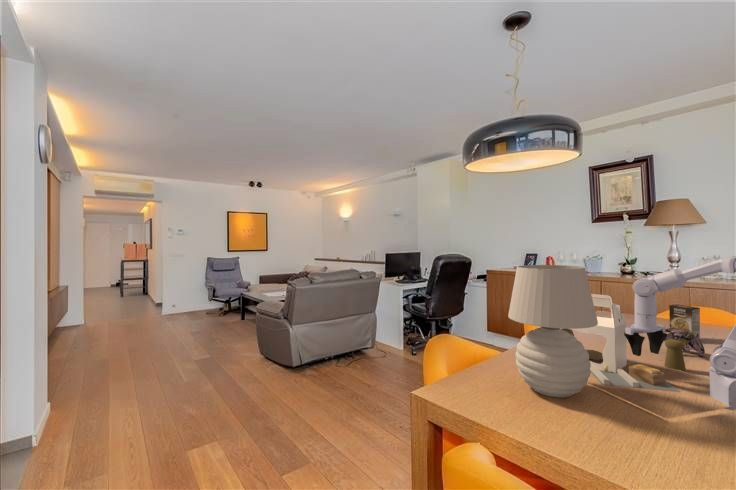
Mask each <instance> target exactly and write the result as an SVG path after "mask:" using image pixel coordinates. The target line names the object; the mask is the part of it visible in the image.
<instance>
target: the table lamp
mask: <svg viewBox="0 0 736 490" xmlns="http://www.w3.org/2000/svg"><path fill="white" fill-rule="evenodd" d="M591 294H592V292H591V286H590V283H589V280H588V274H587V272H586V267H584V266H580V265H563V264H561V265H560V264H527V265H517V266H516V271H515V277H514V282H513V287H512V292H511V298H510V303H509V309H508V315H507V316H508V319H510V320H511V321H514V322H516V323H519V324H524V325H529V326H535V328H534V329H531V330H529V331H528V332H526V334H524V335H523V336H521V338H520V341H519V342H518V343H517V344H516V351H515V365H516V367H517V369H518V374H519V375H520V376H521V378H523V381H524V382H525V384H527V385H528V386H529V387H531V388H532V389H533V391H535V392H537V393H539V394H541V395H544V396H547V397H550V398H560V399H562V398H569V397H571V396H573V395H575V394H578V393H579V392H581V391H582V389H583V388H584V387H585V386H587V384H588V381H589V378H590V376H591V372H590V371H591V370H590V367H591V363H590V361H591V360H590V359H589V353H588V352H587V350H588V349H586V348H585V346H584V344H583V343H582V342H581V341H580V340H578V338H577V337H576V336H575V335H574V336H573V335H572V334H569V333H568V332H566V331H564V330H561V329H560V328H563V329H579V328H590V327H594V326H596V325H597V324H598V321H597V316H598V315H597V312H596V309H595V306H594V304H593V300H592V295H591ZM589 360H590V361H589Z"/></svg>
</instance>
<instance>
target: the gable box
mask: <svg viewBox="0 0 736 490" xmlns="http://www.w3.org/2000/svg"><path fill="white" fill-rule="evenodd" d="M591 295H592V300H593V304H594V307H600V308H601V307H602V308H609V310H610V316H611V317H607V316H600V315H599V316H598V315H596V316H597V321H598V324H597V325H596V326H594V327H590V328H579V329H563V328H560V329H561V330H564V331H566V332H568V333H569V334H572V335H573V336H575V334H574V331H576V332H579V333H581V334H587V335H598V336H601V337H603V338H604V339H605V340H606V343H605V346H603V350H602V352H601V351H598V350H594V349H586V350H587V352H588V353H589V361H590V363H591V366H595V367H596V368H597V369H598V370H604V365H606V366H608V371H610V372H614V373H617V368H621V369H623V368H625V367H626V366H627V365H628V363H627V362H628V355H627V353H628V352H627V348H628V346H627V338H626V337H625V335H624V332H625V328H627V322H626V319H625V318H624V316H623V315H622V311H621V310H622V309H621V304H616V303H614V301H613V297H612V296H611V295H609V294H599V293H591ZM592 360H594V361H598V360H602V362H601V363H598V362H594V361H592Z"/></svg>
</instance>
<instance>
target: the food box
mask: <svg viewBox="0 0 736 490" xmlns="http://www.w3.org/2000/svg"><path fill="white" fill-rule="evenodd" d="M668 309H669V310H668V311H669V328H676V329H681V330H684V331H690V332H692V333H693V335H694V336H695V337H697V338H698V339H699V340H700V341H701V324H700V323H701V319H700V318H701V314H700V313H701V308H700V307H697V306H690V305H684V304H669V307H668ZM669 333H672V332H669Z"/></svg>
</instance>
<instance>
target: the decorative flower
mask: <svg viewBox="0 0 736 490" xmlns="http://www.w3.org/2000/svg"><path fill="white" fill-rule="evenodd" d="M670 332H672V333H670ZM663 333H666V334H667V337H666V338H665V340H664V341H663V342H665V341H666V340H668V339H674V340H679V341H681V342H683V344H684V349H683V350H682V351H683V352H684V351H685V352H690V351H695V352H697V353H698V355H699V357H700V358H703V357H705V354H706V352H705V351H706V350H705V347H704V345H703V343H702V341H701V339H700V340H699V339H698V338H697V337H695V336H694V335H693V333H692V332H690V331H684V330H681V329H676V328H670V327H669V328H665V332H663Z"/></svg>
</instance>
